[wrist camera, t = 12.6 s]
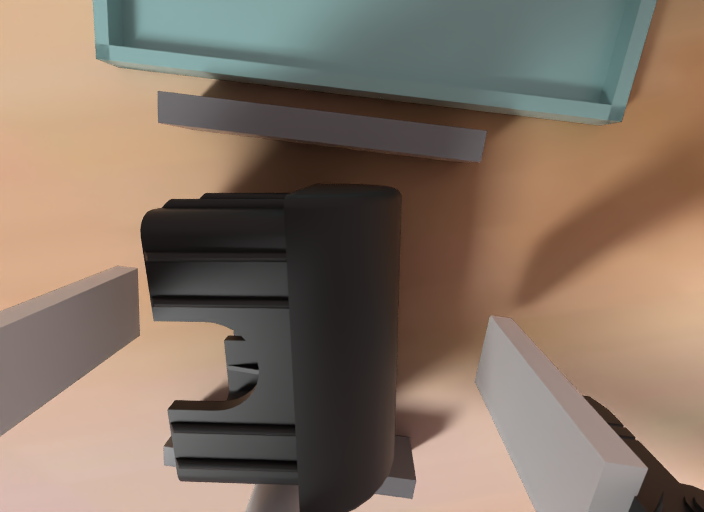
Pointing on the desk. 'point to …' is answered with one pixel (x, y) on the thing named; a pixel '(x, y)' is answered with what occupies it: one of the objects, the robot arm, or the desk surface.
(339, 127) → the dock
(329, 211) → the end cap
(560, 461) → the robot arm
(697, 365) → the desk surface
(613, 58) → the tray
